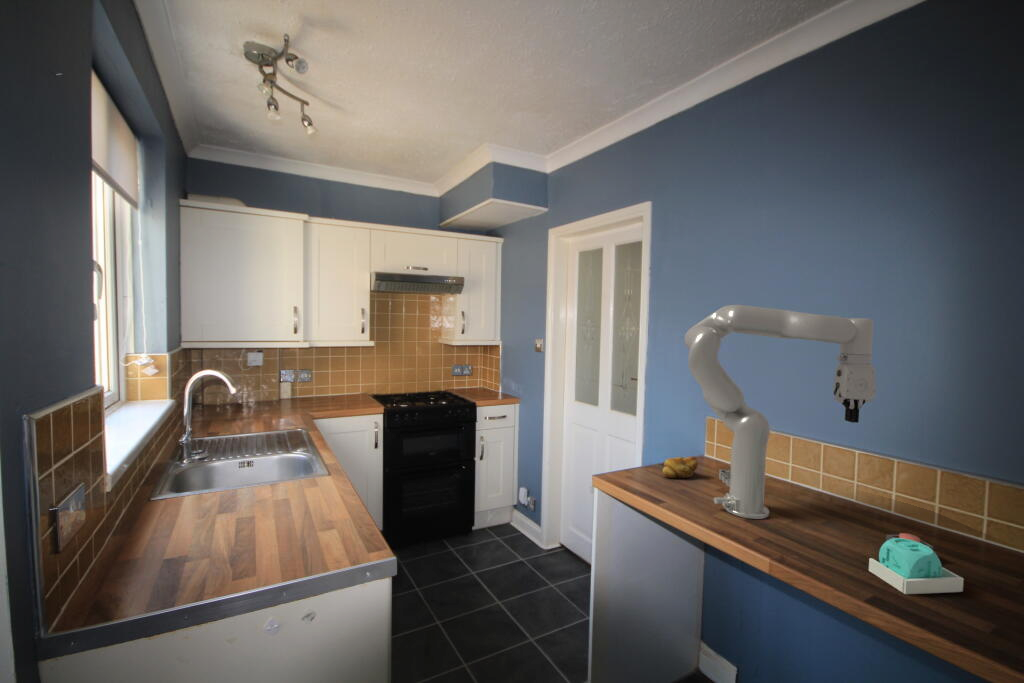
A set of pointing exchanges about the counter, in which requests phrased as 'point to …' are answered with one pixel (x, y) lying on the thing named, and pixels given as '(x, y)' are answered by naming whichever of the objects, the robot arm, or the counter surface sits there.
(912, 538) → the button
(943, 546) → the counter surface
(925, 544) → the button collar
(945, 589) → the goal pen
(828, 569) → the counter surface
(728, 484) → the egg carton
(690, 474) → the bread roll
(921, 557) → the decorative dice
